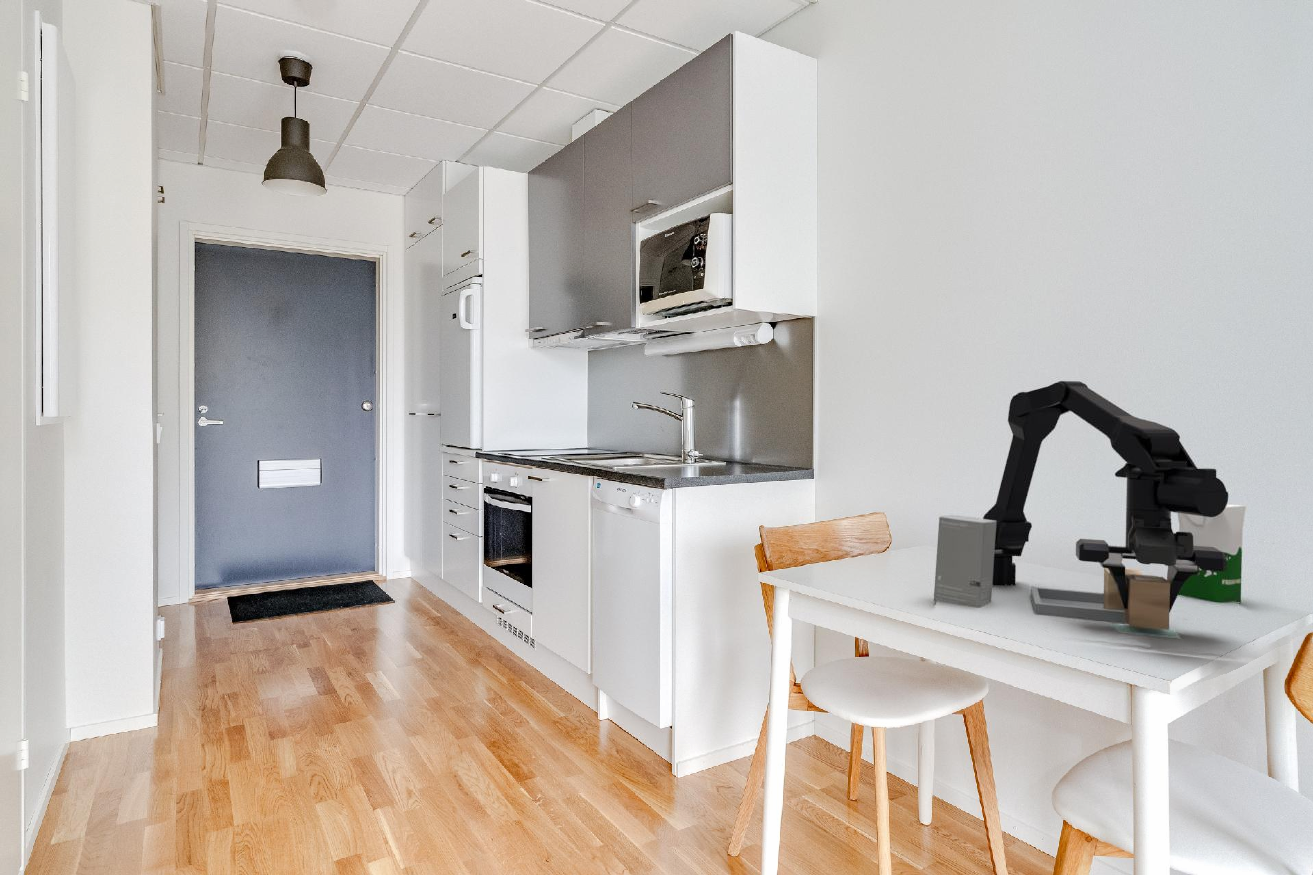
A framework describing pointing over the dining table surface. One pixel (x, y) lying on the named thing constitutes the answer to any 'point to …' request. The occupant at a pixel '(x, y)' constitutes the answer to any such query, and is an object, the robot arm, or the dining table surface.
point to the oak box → (1113, 590)
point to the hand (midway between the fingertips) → (1146, 610)
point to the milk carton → (1224, 537)
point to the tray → (1073, 604)
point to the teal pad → (1146, 631)
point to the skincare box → (965, 560)
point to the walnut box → (1147, 601)
